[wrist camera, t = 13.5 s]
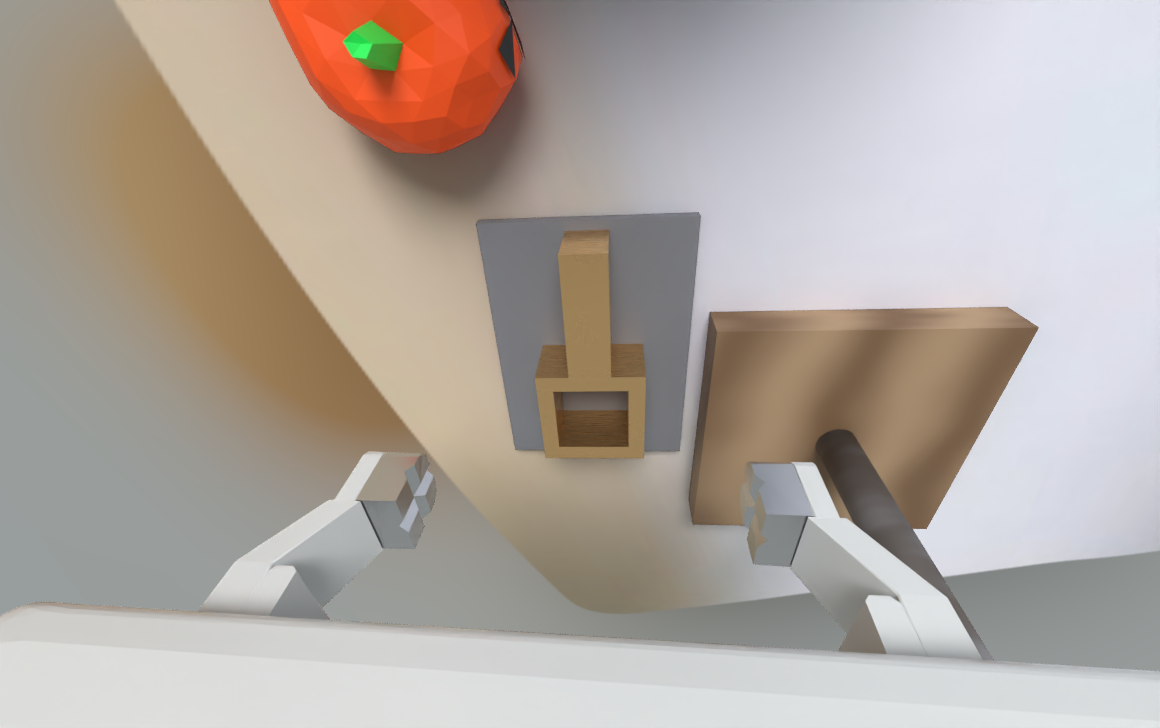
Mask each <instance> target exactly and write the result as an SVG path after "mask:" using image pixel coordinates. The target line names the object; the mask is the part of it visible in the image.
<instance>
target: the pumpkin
mask: <svg viewBox="0 0 1160 728" xmlns="http://www.w3.org/2000/svg"><path fill="white" fill-rule="evenodd" d="M503 1H504V2H503ZM269 2H270V4H271V6H272V9H273V11H274V13H275V15H276V17H277V19H278V21H279V23H280V25H281V27H282V30H283V32H284V34H285V36H286V38H287V40H288V42H289V44H290V46H291V48H292V50H293V52H294V54H295V56H296V58H297V60H298V62H299V63H300V65H301V67H302V69H303V71H304V73H305V75H306V77H307V79H308V81H309V83H310V85H311V86H312V87H313V89H314V90H315V91H316V92H317V94H318V95H319V96H320V97H321V99H322V100H323V101H324V103H325V104H326V105H327V106H328V108H329V109H331V110H332V111H333V112H335V113H336V114H337V115H339V116H340V117H341V118H343V119H344V120H345V121H347V122H348V123H350V124H351V125H352V126H354V127H355V128H356V129H358V130H359V131H361V132H362V133H364V134H365V135H367V136H369V137H370V138H372V139H374V140H375V141H377V142H379V143H380V144H382V145H384V146H385V147H387V148H389V149H391V150H392V151H394V152H398V153H413V154H431V153H442V152H445V151H448V150H450V149H453V148H456V147H458V146H460V145H462V144H464V143H466V142H468V141H470V140H472V139H474V138H476V137H478V136H480V135H482V134H483V132H484V131H485V129H486V128H487V126H488V125H489V124H490V122H491V121H492V119H493V118H494V116H495V115H496V113H497V112H498V110H499V109H500V107H501V106H502V104H503V102H504V100H505V98H506V97H507V95H508V93H509V91H510V89H511V88H512V86H513V84H514V82H515V81H516V78H517V75H518V71H519V67H520V64H521V60H522V54H521V51H520V48H519V45H518V42H517V39H516V36H515V33H514V30H513V27H512V23H513V26H514V29H515V32H516V34H517V37H518V40H519V43H520V46H521V49H522V52H523V48H522V44H521V41H520V38H519V35H518V33H517V30H516V27H515V25H514V22H513V19H512V17H511V14H510V11H509V9H508V6H507V4H506V2H505V0H269ZM504 3H505V4H504ZM505 5H506V6H505ZM506 7H507V8H506ZM507 9H508V10H507ZM509 16H510V18H511V21H510V18H509ZM523 55H524V52H523ZM524 58H525V57H524Z"/></svg>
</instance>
